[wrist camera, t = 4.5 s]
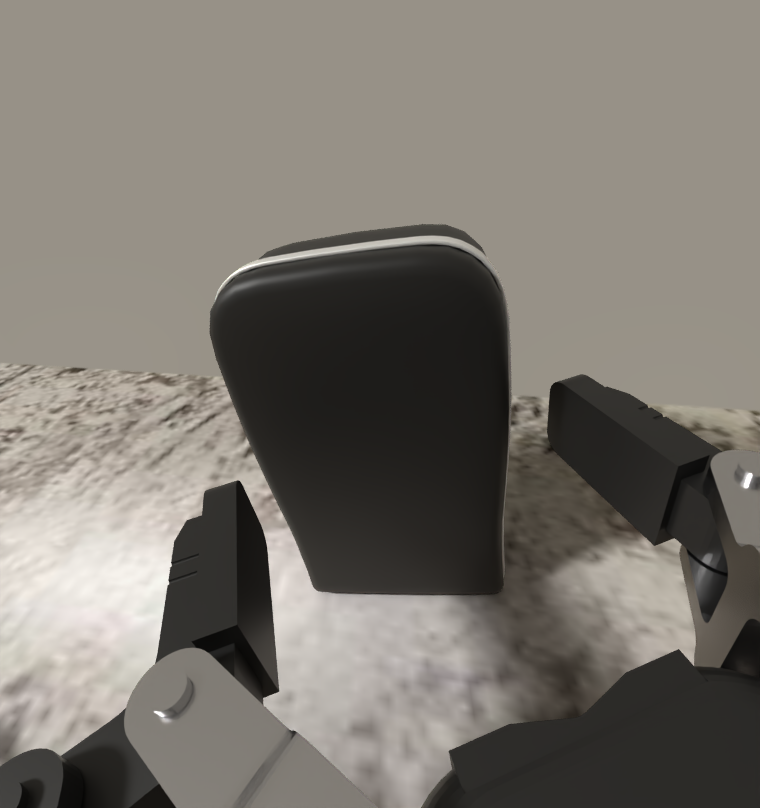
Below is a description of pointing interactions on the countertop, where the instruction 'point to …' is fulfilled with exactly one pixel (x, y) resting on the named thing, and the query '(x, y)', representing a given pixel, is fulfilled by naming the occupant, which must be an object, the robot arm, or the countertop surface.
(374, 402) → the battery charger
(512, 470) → the countertop surface
